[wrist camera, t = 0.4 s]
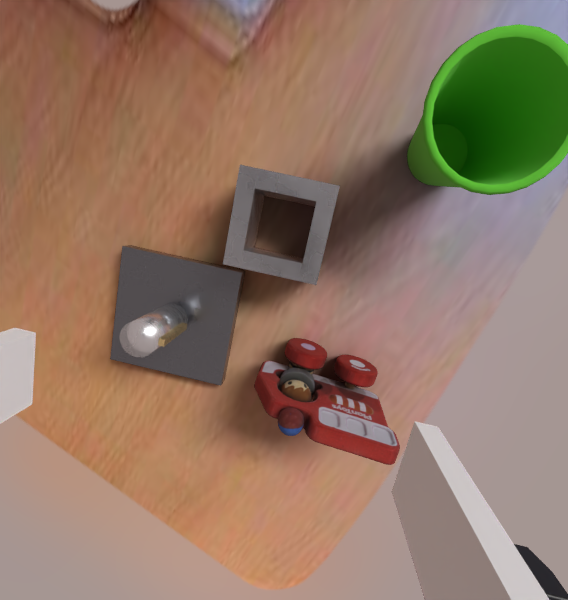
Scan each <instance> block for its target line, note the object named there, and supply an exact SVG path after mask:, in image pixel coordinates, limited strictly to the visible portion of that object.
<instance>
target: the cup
mask: <svg viewBox="0 0 568 600" xmlns="http://www.w3.org/2000/svg"><path fill="white" fill-rule="evenodd" d="M567 153H568V44H566V43H565V42H564V41H563V40H562V39H561V38H560V37H558V36H557V35H555V34H553V33H551V32H549V31H547V30H544V29H542V28H540V27H534V26H527V25H520V24H519V25H511V26H503V27H496V28H494V29H491V30H488V31H486V32H483V33H481V34H478V35H476V36H474V37H473V38H471V39H470V40H468V41H467V42H465V43H464V44H462V45H461V46H460V47H458V48H457V49H456V50H455V51H454V52H453V53H452V54H451V55H450V57H449V58H448V59H447V60H446V61H445V62H444V63H443V64H442V66H441V67H440V69H439V71H438V72H437V74H436V76H435V77H434V79H433V80H432V82H431V85H430V88H429V91H428V93H427V96H426V99H425V102H424V110H423V116H422V118H421V120H420V122H419V125H418V127H417V129H416V131H415V133H414V136H413V138H412V140H411V142H410V145H409V148H408V153H407V161H408V166H409V169H410V171H411V173H412V174H413V176H414V177H415V178H416V179H418V180H419V181H420V182H422V183H424V184H427V185H433V186H447V187H461V188H464V189H466V190H468V191H470V192H475V193H481V194H487V195H493V194H505V193H510V192H514V191H517V190H520V189H523V188H526V187H528V186H530V185H532V184H533V183H535V182H537V181H539V180H540V179H542V178H544V177H545V176H546V175H547V174H549V173H550V172H551V171H552V170H553V169H554V168H555V167H556V166H558V165H559V164H560V163H561V161H562V160H563V159H564V157H565V156H566V155H567Z"/></svg>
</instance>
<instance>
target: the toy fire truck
mask: <svg viewBox="0 0 568 600" xmlns="http://www.w3.org/2000/svg"><path fill="white" fill-rule="evenodd" d="M285 356H286V358H287V359H289V360H290V362H289V366H286V365H283V364H280V363H277V362H274V361H265V362H263V364H262V366H261V368H260V371H259V373H258V376H257V378H256V381H255V384H254V387H255V389H256V391H257V394H258V396H259V398H260V400H261V402H262V404H263V407H264V409H265V411H266V412H267V413H268V414H269V415H270V416H272V417H274V418H277V419H278V426H279V428H280V430H281V431H282V432H283V433H284V434H285V435H288V436H294V435H297V434H298V433H299V432H300V431H301V430H302V428H304V429H305V431H306V434H307V436H308V437H309V438H310V439H312V440H313V441H315V442H318V443H321V444H324V445H327V446H331V447H334V448H336V449H340V450H343V451H346V452H350V453H352V454H356V455H359V456H362V457H365V458H369V459H371V460H374V461H377V462H381V463H384V464H388V465H391V464H394V463H395V461H396V458H397V455H398V452H399V449H400V445H399V442H398V439H397V437H396V434H395V433H394V432H393V431H392V430H391V429H390V428H389V427H388V426H387V423H386V420H385V417H384V413H383V410H382V407H381V404H380V401H379V398H378V397H377V395H375V394H374V393H372V392H370V391H367V390H364V389H361V388H358V387H356V386H360V387H370V386H372V385H373V384H374V382H375V379H376V377H377V369H376V368H375V367H374V366H373V365H372V364H371V363H369V362H367V361H365V360H363V359H361V358H358V357H355V356H351V355H340V356H338V358H337V360H336V362H335V365H334V372H335V373H336V375H337V376H338V377H339V378H341V379H342V380H344V381H346V382H338V381H335V380H331V379H329V378H325V377H322V376H319V375H315V374H312V373H313V371H314V369H320V368H322V367H323V366H324V364H325V361H326V358H327V352H326V350H325V349H324V348H323V347H321V346H320V345H318V344H316V343H314V342H312V341H309V340H305V339H300V338H293V339H290V340H289V341H288V343H287V346H286V349H285ZM355 385H356V386H355ZM313 395H314V399H313V402H311V398H312V396H313Z"/></svg>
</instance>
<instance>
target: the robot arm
mask: <svg viewBox="0 0 568 600" xmlns="http://www.w3.org/2000/svg"><path fill="white" fill-rule="evenodd" d="M35 340H36V333H35V332H31V331H26V330H22V329H18V328H12V329H9V330H6V331H3V332H0V424H1V423H2V422H4V421H6V420H7V419H9V418H10V417H12V416H14V415H15V414H17V413H19V412H20V411H22V410H24V409H25V408H27V407H28V406H30V405H32V399H33V379H34V359H35ZM392 494H393V497H394V500H395V504H396V507H397V510H398V513H399V517H400V520H401V524H402V527H403V530H404V533H405V536H406V540H407V543H408V546H409V550H410V553H411V556H412V559H413V563H414V566H415V569H416V573H417V576H418V579H419V582H420V586H421V589H422V592H423V595H424V599H425V600H568V594H567V592H566V591H565V589H564V588H563V587H562V585H561V584H560V583H559V581H558V580H557V578H556V577H555V575H554V574H553V572H552V571H551V570H550V569H549V568H548V567H547V566H546V565H545V564H544V563H543V562H542V561H541V560H539V558H538V557H537V556H536V555H535V554H534V553H533V552H532V551H531V550H529V548H527V547H524V546H520V545H515V544H513V542H512V541H511V539H510V538H509V536H508V535H507V533H506V531H505V530H504V528H503V527H502V525H501V524H500V523H499V521H498V519H497V518H496V516H495V514H494V513H493V511H492V510H491V508H490V507H489V505H488V504H487V502H486V501H485V499H484V497H483V496H482V494H481V493H480V491H479V490H478V488H477V487H476V485H475V483H474V482H473V480H472V479H471V477H470V476H469V474H468V473H467V471H466V470H465V468H464V466H463V465H462V463H461V462H460V460H459V459H458V457H457V456H456V454H455V453H454V451H453V450H452V448H451V446H450V445H449V443H448V442H447V440H446V439H445V437H444V435H443V434H442V433H441V431H440V429H439V428H438V427H436V426H432V425H428V424H424V423H419V422H414V425H413V428H412V431H411V434H410V437H409V440H408V443H407V447H406V450H405V453H404V456H403V459H402V462H401V465H400V468H399V471H398V474H397V478H396V480H395V483H394V486H393V489H392Z"/></svg>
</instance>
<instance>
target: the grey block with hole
mask: <svg viewBox="0 0 568 600" xmlns="http://www.w3.org/2000/svg"><path fill="white" fill-rule="evenodd" d="M339 187H340V186H338V185H334V184H329V183H324V182H319V181H315V180H310V179H305V178H301V177H296V176H291V175H286V174H282V173H277V172H272V171H267V170H263V169H258V168H253V167H249V166H244V165H240V168H239V174H238V180H237V185H236V191H235V197H234V203H233V208H232V214H231V220H230V226H229V232H228V237H227V243H226V249H225V255H224V260H223V264H225V265H229V266H233V267H238V268H242V269H247V270H251V271H256V272H260V273H265V274H269V275H274V276H278V277H283V278H287V279H291V280H296V281H300V282H305V283H309V284H314V285H316V284H317V280H318V276H319V272H320V267H321V263H322V259H323V255H324V251H325V246H326V242H327V238H328V234H329V229H330V225H331V221H332V217H333V213H334V208H335V204H336V200H337V196H338V191H339ZM265 196H268V197H273V198H277V199H282V200H287V201H291V202H296V203H301V204H305V205H310V206H315V210H314V215H313V219H312V224H311V228H310V233H309V237H308V242H307V246H306V251H305V255H304V258H300V257H296V256H291V255H286V254H282V253H277V252H273V251H268V250H264V249H259V248H255V244H256V238H257V233H258V228H259V223H260V218H261V212H262V207H263V202H264V197H265Z"/></svg>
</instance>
